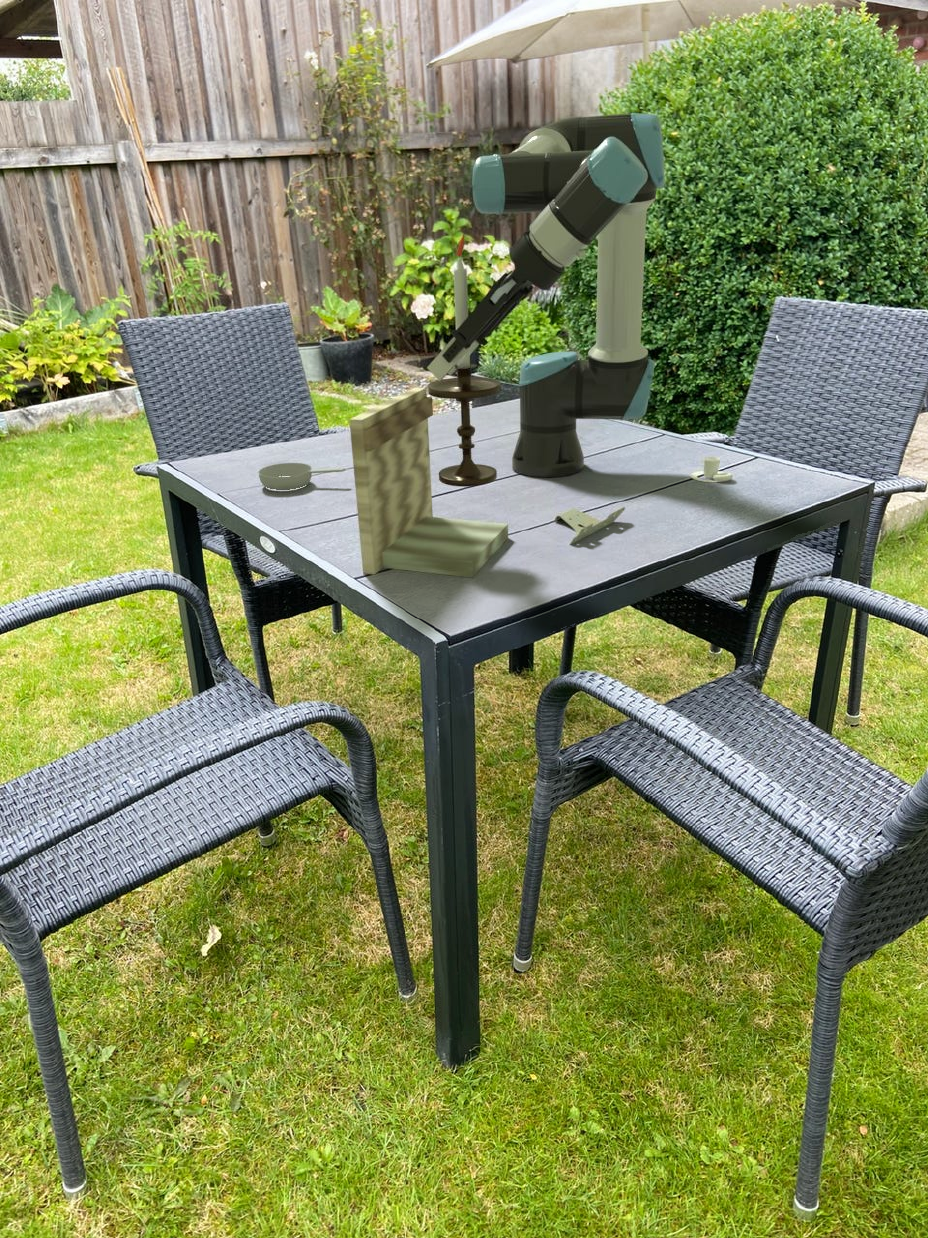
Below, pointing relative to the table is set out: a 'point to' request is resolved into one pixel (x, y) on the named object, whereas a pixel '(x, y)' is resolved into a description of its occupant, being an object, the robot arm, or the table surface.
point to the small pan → (296, 471)
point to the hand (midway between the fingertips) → (439, 370)
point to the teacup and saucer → (712, 471)
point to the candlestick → (464, 395)
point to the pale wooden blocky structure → (409, 496)
